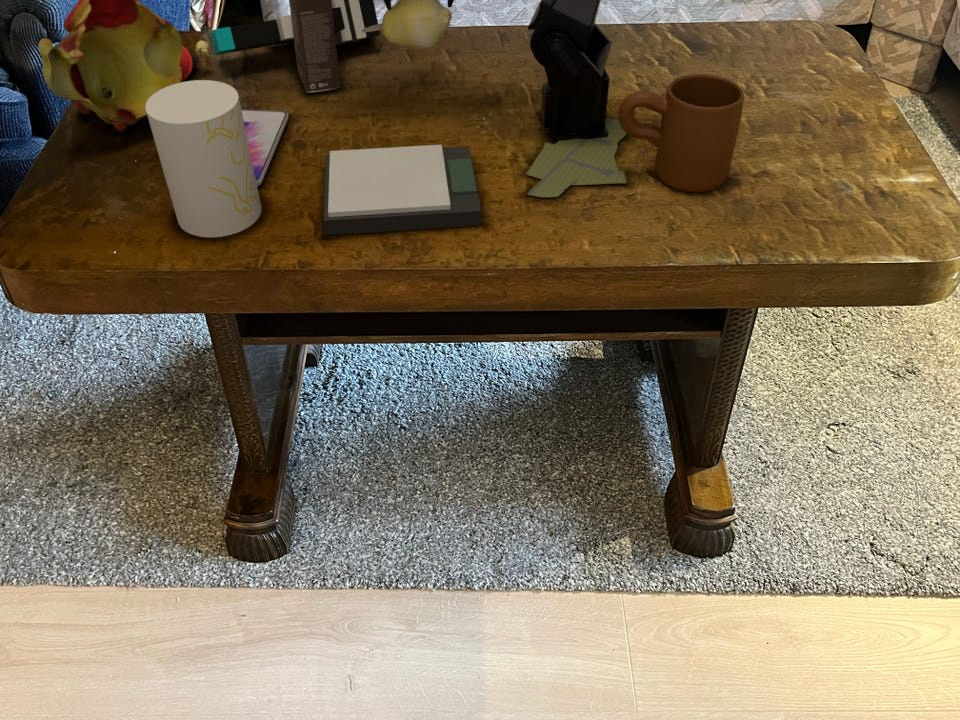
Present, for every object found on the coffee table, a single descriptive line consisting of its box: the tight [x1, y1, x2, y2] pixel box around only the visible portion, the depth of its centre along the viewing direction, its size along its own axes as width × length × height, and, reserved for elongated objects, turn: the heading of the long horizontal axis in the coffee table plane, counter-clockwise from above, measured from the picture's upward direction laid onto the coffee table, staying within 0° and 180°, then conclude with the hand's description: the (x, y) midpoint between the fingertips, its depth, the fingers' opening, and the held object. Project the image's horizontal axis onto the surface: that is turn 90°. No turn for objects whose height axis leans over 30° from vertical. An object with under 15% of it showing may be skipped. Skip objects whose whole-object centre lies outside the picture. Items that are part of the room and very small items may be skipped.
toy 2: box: [209, 0, 381, 56], centre depth 111 cm, size 10×5×20 cm
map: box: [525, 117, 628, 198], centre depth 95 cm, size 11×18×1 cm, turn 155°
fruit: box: [362, 0, 453, 51], centre depth 96 cm, size 6×6×10 cm
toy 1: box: [37, 0, 184, 132], centre depth 96 cm, size 15×15×13 cm
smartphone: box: [241, 108, 289, 187], centre depth 96 cm, size 7×1×15 cm
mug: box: [617, 73, 745, 193], centre depth 89 cm, size 12×8×9 cm, turn 87°
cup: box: [145, 79, 262, 238], centre depth 84 cm, size 8×8×12 cm
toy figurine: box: [179, 40, 210, 82], centre depth 107 cm, size 8×4×8 cm
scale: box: [323, 144, 482, 236], centre depth 89 cm, size 15×12×2 cm
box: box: [288, 0, 341, 94], centre depth 104 cm, size 6×4×12 cm
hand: (419, 7), depth 95 cm, fingers closed on fruit, 6 cm apart
